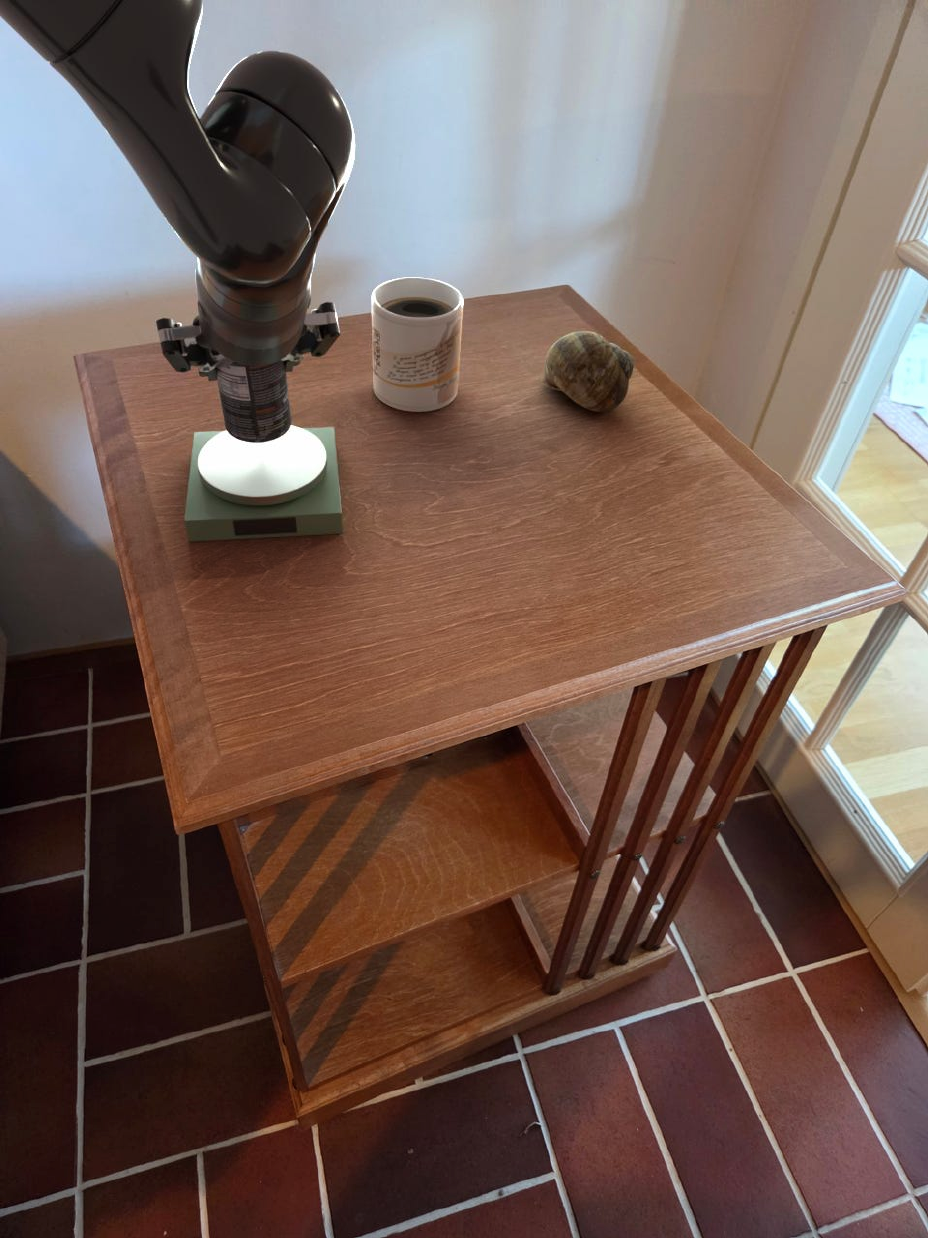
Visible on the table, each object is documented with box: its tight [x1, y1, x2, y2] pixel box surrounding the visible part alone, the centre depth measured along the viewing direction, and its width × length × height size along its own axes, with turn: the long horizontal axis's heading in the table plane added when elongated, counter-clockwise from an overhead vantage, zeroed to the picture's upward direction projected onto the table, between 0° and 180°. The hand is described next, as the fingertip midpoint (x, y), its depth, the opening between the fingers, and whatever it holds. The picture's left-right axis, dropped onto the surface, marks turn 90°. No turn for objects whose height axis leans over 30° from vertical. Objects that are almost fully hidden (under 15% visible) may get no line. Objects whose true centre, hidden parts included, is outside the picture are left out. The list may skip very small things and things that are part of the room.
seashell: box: [540, 330, 636, 412], centre depth 94 cm, size 11×9×8 cm
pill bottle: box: [216, 360, 292, 443], centre depth 72 cm, size 6×6×11 cm
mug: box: [371, 277, 464, 413], centre depth 93 cm, size 10×12×11 cm
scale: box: [183, 424, 344, 543], centre depth 80 cm, size 14×14×4 cm
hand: (248, 365), depth 74 cm, fingers closed on pill bottle, 6 cm apart
